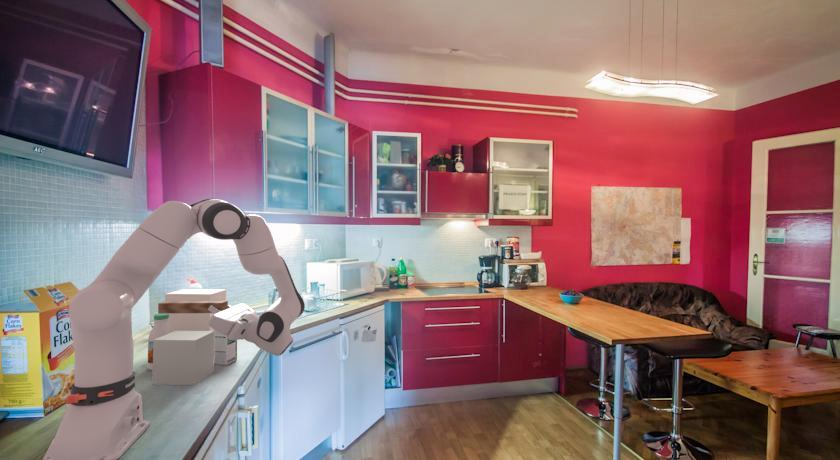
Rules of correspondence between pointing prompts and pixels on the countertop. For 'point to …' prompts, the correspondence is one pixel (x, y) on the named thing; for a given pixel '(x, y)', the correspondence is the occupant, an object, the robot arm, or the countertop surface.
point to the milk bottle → (157, 334)
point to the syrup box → (224, 349)
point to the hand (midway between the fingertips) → (214, 305)
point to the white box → (193, 319)
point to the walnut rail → (190, 306)
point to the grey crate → (183, 357)
